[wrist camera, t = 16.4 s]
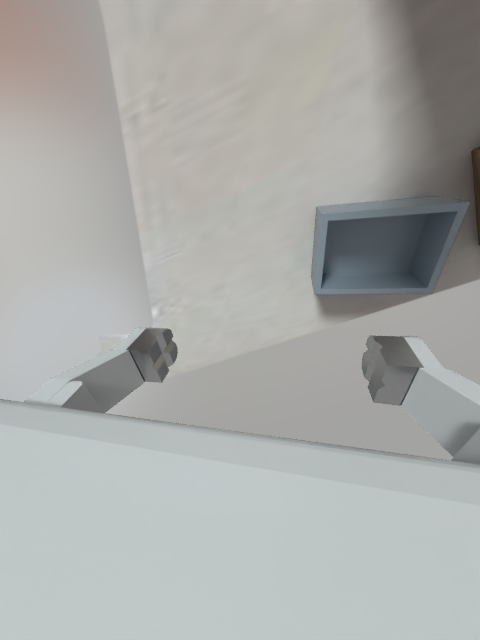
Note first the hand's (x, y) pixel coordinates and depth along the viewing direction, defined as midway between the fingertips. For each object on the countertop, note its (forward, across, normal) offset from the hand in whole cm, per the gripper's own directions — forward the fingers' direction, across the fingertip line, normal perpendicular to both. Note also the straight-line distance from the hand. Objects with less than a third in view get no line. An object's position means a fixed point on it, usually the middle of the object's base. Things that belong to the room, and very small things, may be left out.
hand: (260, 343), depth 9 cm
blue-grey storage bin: (+29, -12, +4) cm, 32 cm away
